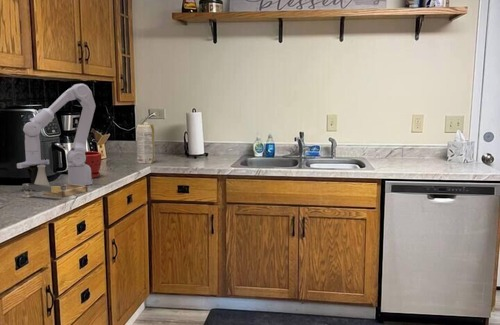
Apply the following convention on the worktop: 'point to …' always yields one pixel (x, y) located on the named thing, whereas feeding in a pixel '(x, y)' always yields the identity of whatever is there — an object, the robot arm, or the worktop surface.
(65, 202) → the worktop surface
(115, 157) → the worktop surface
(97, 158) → the plant pot
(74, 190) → the bay
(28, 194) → the lever post
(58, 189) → the lever
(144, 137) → the juice carton
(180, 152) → the worktop surface
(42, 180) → the flask
